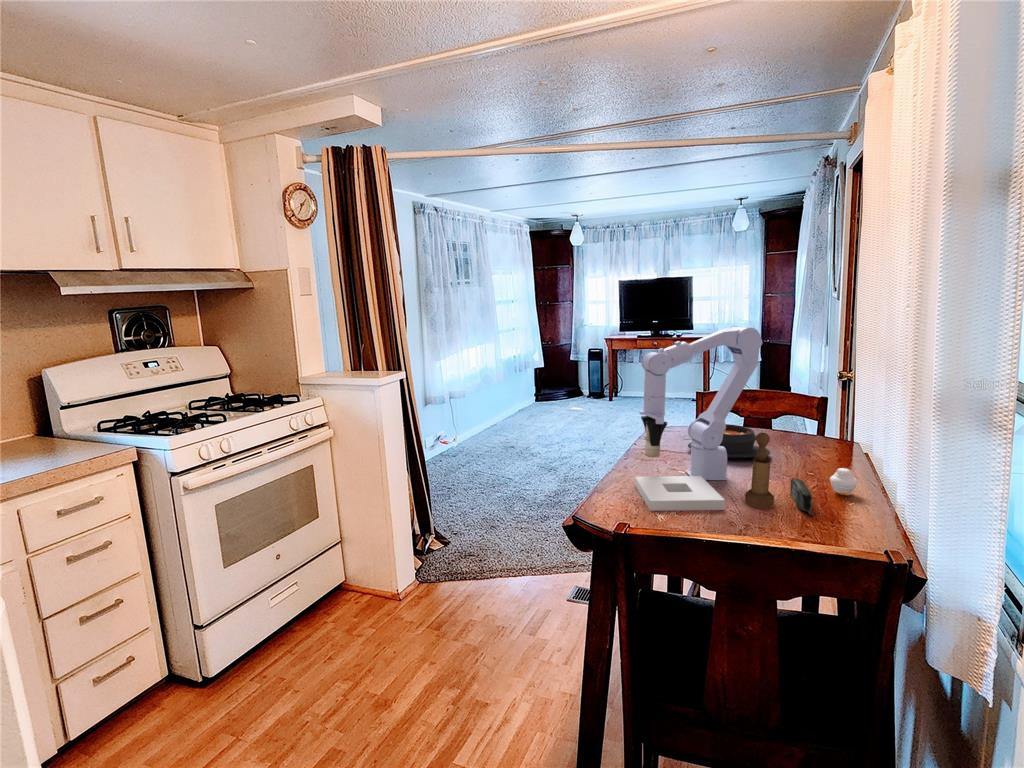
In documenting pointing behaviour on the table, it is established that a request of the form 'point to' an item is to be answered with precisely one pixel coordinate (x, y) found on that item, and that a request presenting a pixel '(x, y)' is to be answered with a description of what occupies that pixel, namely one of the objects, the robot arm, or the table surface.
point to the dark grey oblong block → (801, 495)
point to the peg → (651, 447)
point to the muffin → (843, 481)
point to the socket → (678, 493)
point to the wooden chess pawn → (760, 477)
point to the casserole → (739, 442)
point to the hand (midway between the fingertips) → (652, 443)
